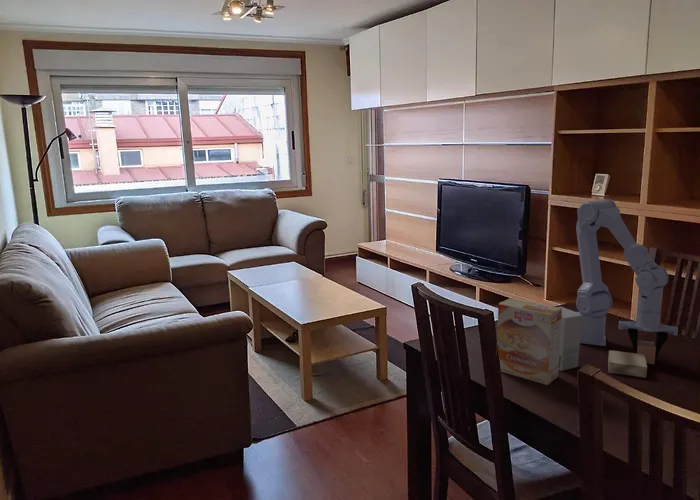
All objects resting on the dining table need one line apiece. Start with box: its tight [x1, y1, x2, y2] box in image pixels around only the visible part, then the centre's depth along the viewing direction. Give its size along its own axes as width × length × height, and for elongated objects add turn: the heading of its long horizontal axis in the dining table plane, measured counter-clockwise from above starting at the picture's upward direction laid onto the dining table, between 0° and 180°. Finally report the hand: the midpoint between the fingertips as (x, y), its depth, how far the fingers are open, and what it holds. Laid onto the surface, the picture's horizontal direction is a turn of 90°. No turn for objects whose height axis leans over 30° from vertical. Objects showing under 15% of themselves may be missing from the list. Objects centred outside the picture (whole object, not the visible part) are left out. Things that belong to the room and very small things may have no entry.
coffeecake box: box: [496, 297, 562, 386], centre depth 147 cm, size 15×7×20 cm, turn 47°
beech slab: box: [607, 349, 648, 378], centre depth 150 cm, size 9×9×3 cm
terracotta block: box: [637, 339, 656, 365], centre depth 155 cm, size 4×4×5 cm
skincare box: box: [556, 306, 583, 372], centre depth 153 cm, size 8×7×16 cm
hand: (645, 355), depth 155 cm, fingers closed on terracotta block, 4 cm apart
